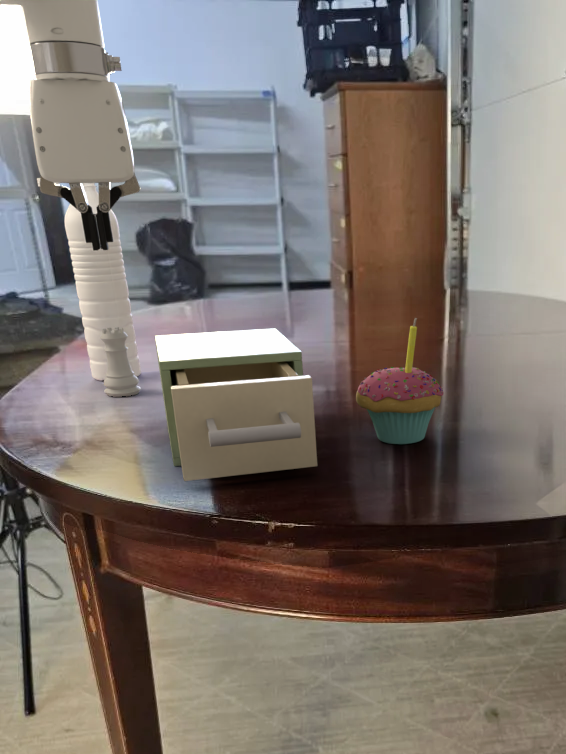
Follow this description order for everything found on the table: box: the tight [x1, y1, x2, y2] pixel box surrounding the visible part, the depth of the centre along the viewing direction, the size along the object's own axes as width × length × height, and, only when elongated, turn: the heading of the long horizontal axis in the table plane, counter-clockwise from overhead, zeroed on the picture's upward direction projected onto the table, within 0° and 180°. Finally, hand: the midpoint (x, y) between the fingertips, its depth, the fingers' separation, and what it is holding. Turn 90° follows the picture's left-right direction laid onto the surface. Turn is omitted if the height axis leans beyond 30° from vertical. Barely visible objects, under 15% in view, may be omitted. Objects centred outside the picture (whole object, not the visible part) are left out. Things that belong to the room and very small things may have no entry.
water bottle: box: [36, 177, 142, 381], centre depth 102 cm, size 9×6×25 cm
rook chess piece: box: [100, 327, 142, 398], centre depth 96 cm, size 4×4×8 cm
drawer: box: [171, 362, 318, 482], centre depth 68 cm, size 19×11×8 cm, turn 18°
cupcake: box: [355, 317, 444, 445], centre depth 76 cm, size 9×8×12 cm
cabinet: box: [154, 327, 304, 467], centre depth 77 cm, size 15×13×10 cm
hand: (101, 249), depth 91 cm, fingers closed
